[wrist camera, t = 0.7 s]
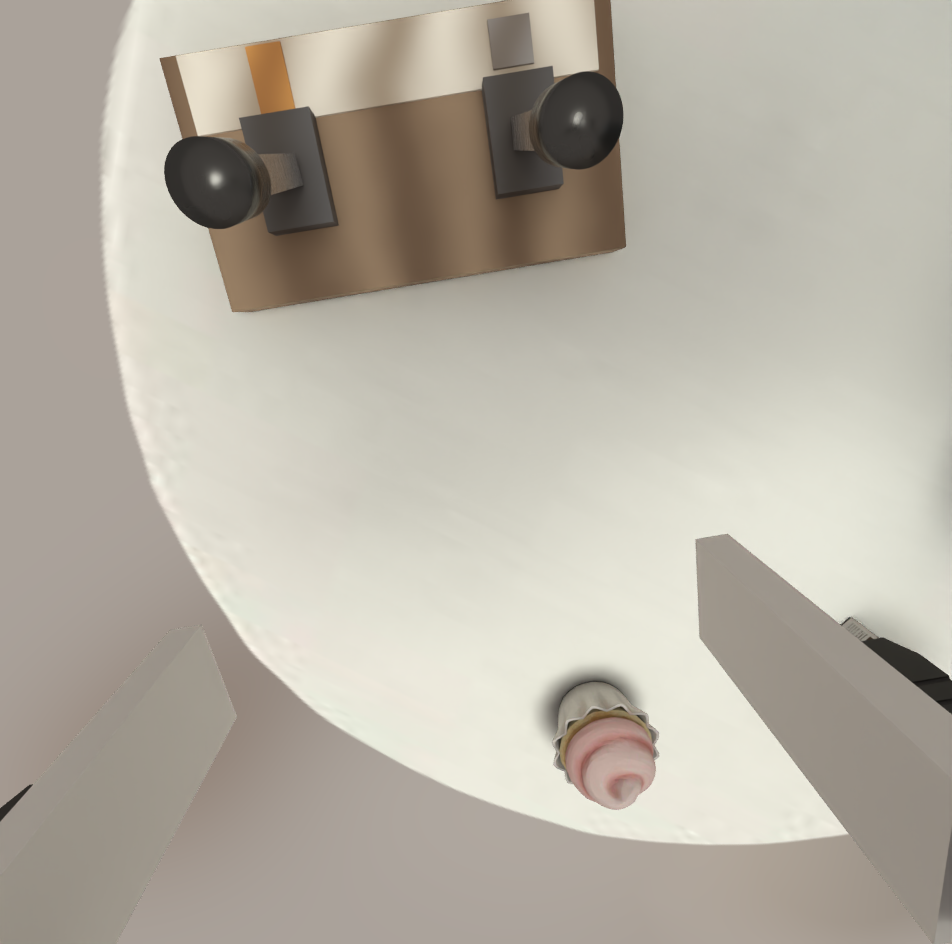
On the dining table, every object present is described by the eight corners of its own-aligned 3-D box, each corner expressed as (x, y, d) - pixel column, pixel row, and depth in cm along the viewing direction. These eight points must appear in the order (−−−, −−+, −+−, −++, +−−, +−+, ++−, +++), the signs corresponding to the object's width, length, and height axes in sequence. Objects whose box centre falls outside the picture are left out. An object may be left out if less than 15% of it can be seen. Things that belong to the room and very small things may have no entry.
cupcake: (627, 652, 47) (673, 740, 37) (650, 730, 49) (698, 830, 40) (529, 682, 47) (549, 777, 38) (556, 758, 50) (581, 864, 40)
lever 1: (302, 136, 29) (232, 129, 18) (319, 196, 30) (263, 222, 20) (249, 145, 29) (149, 143, 18) (268, 204, 30) (186, 234, 20)
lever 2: (550, 95, 29) (624, 64, 18) (553, 157, 30) (622, 162, 20) (497, 104, 29) (540, 78, 18) (503, 166, 30) (545, 175, 20)
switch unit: (595, 12, 32) (617, -34, 28) (612, 252, 36) (633, 244, 32) (185, 80, 32) (144, 45, 28) (249, 312, 36) (222, 312, 32)
